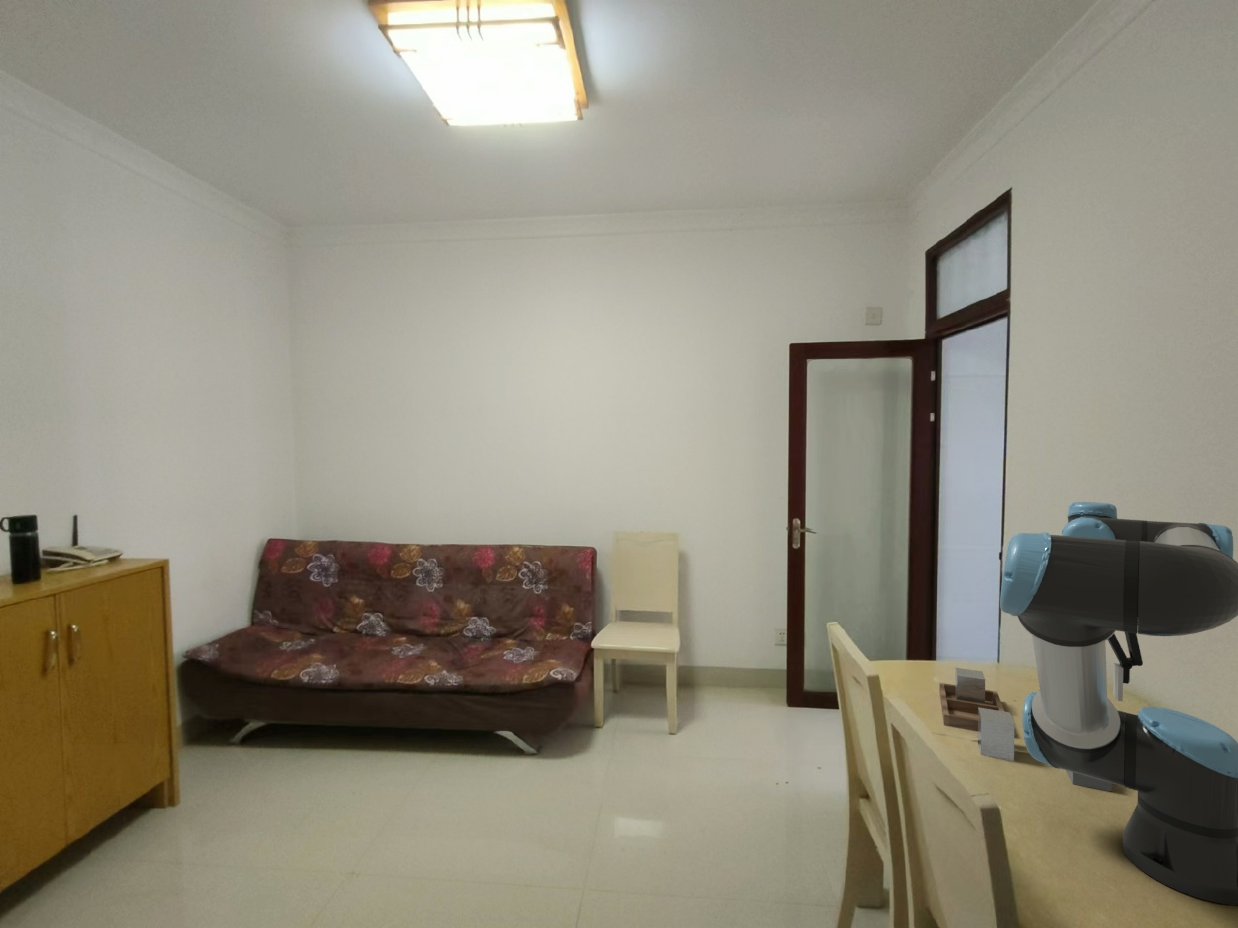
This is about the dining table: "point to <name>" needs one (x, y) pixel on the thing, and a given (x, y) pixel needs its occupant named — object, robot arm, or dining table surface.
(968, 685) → the block
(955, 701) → the wooden cubby shelf
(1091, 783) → the button housing
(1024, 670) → the dining table surface
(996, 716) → the block
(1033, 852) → the dining table surface
